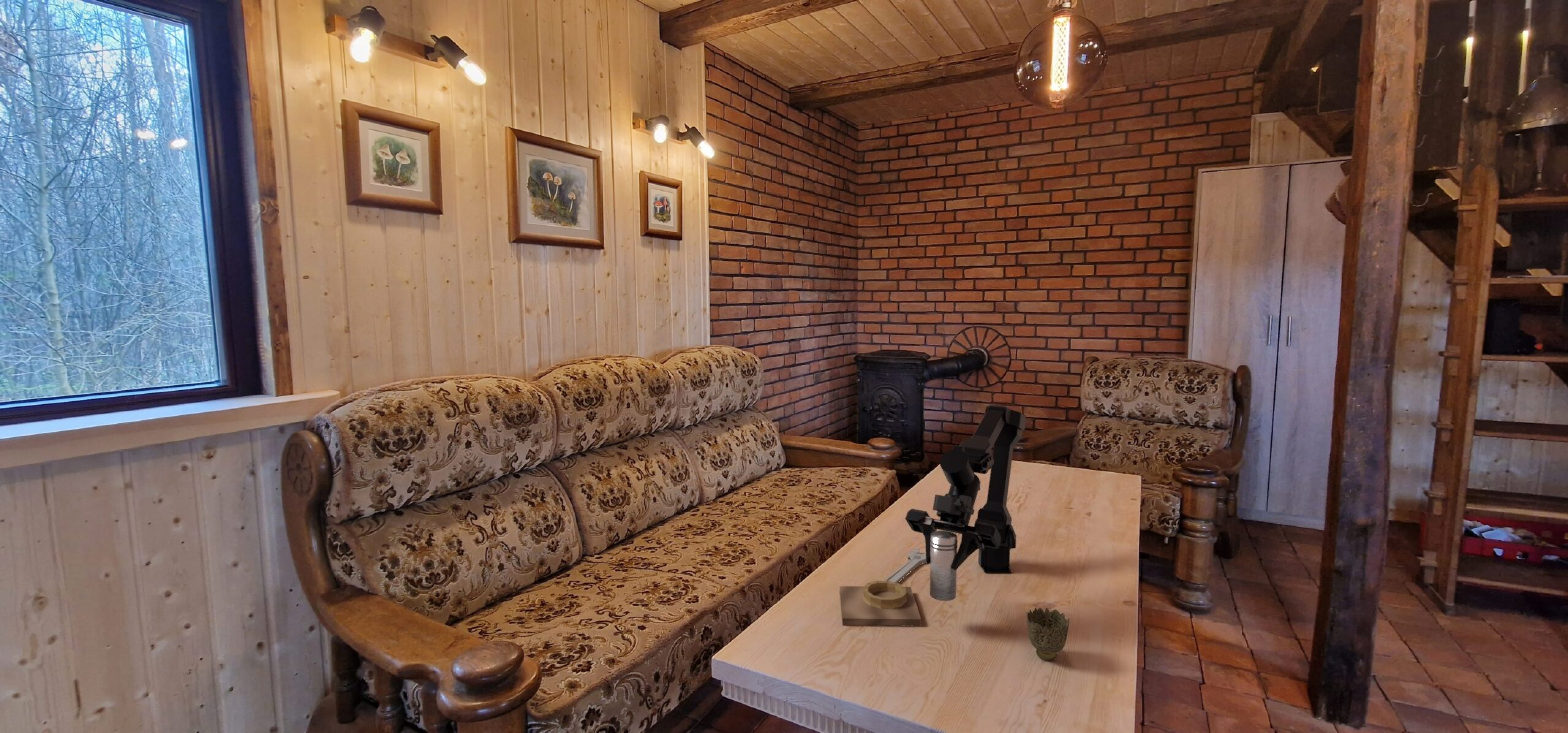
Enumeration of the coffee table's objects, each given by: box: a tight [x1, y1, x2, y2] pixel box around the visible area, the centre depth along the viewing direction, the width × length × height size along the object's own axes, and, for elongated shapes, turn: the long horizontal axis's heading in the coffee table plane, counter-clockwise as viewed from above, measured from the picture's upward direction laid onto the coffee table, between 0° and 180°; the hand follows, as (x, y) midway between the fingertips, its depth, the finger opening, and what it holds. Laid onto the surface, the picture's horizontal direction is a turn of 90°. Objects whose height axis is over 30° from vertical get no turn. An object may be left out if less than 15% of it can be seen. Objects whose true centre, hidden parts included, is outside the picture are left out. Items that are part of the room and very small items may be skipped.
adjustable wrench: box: [883, 548, 927, 583], centre depth 165 cm, size 25×6×2 cm, turn 140°
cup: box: [1026, 607, 1071, 662], centre depth 126 cm, size 8×7×8 cm
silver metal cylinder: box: [929, 530, 959, 602], centre depth 136 cm, size 5×5×12 cm
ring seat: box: [839, 580, 922, 627], centre depth 146 cm, size 16×15×4 cm
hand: (940, 566), depth 135 cm, fingers closed on silver metal cylinder, 5 cm apart
